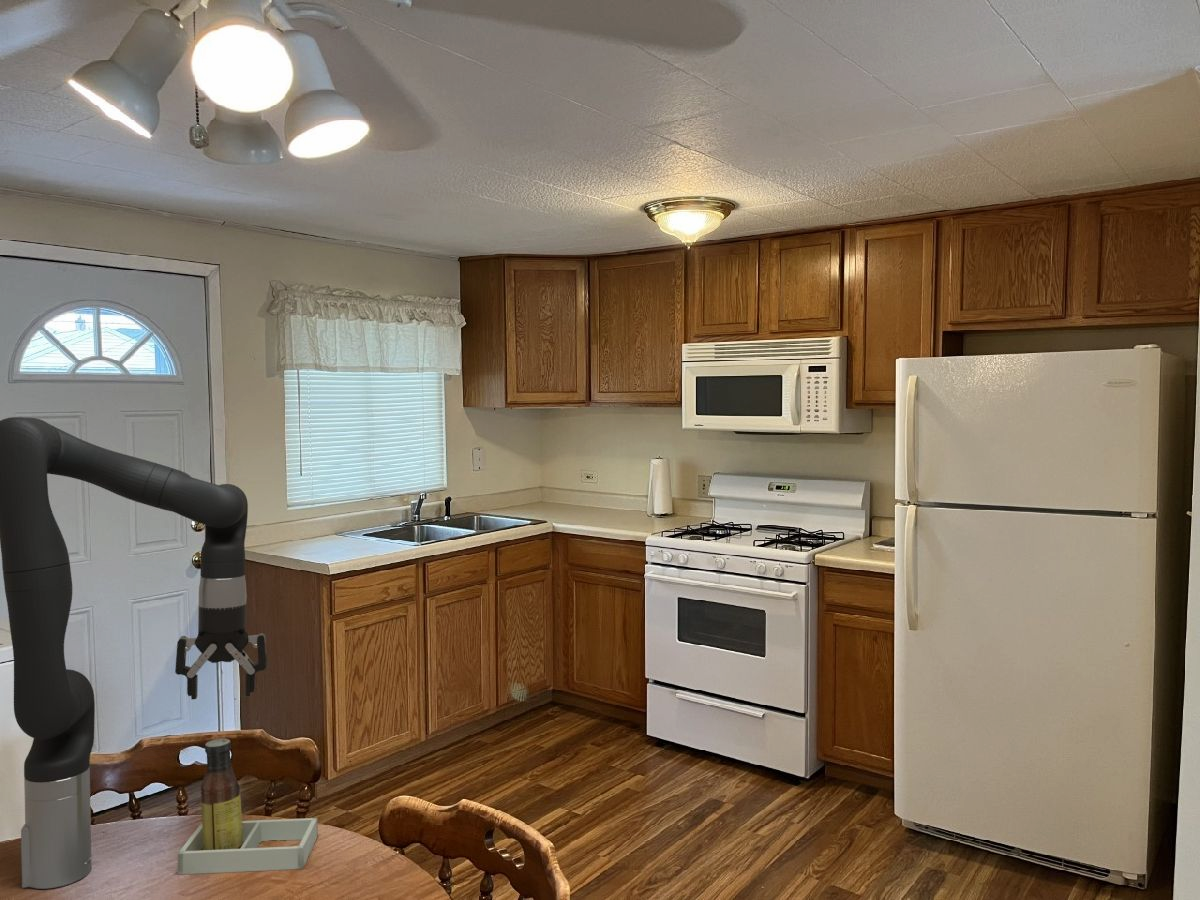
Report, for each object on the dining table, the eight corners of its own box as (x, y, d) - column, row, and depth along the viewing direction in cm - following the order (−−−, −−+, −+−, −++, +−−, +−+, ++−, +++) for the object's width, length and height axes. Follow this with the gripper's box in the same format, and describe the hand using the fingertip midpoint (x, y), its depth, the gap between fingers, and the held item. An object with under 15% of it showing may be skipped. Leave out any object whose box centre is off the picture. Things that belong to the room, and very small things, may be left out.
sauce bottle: (249, 848, 158) (248, 736, 157) (231, 866, 152) (230, 749, 151) (213, 847, 159) (212, 734, 158) (194, 864, 152) (192, 747, 152)
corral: (177, 874, 149) (177, 853, 149) (201, 842, 161) (201, 822, 160) (302, 868, 151) (302, 848, 151) (317, 837, 162) (317, 817, 162)
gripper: (173, 608, 148) (172, 706, 149) (265, 604, 153) (264, 700, 153) (180, 599, 156) (179, 693, 156) (268, 596, 160) (267, 687, 160)
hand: (221, 696), depth 155 cm, fingers open, 8 cm apart
